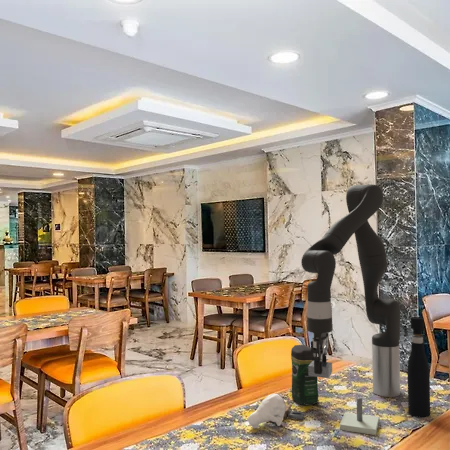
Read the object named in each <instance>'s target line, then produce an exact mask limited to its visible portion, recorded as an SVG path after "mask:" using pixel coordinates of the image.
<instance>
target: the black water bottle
mask: <svg viewBox="0 0 450 450" xmlns="http://www.w3.org/2000/svg"><path fill="white" fill-rule="evenodd" d="M410 328H411V329H412V331H413V332H412V337H411V343H410V346H411V351H410V354H409V357H408V361H407V367H406V370H407V411H408V414H409V415H410V416H412V417H416V418H422V419H423V418H429V417H430V416H431V388H430V387H431V386H430V385H431V384H430V382H431V381H430V380H431V379H430V366H429V361H428V359H427V355H426V353H425V343H424V337H423V333H422V332H423V330H425V319H424V317H419V316H412V317H410Z"/></svg>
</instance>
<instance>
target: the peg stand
mask: <svg viewBox="0 0 450 450" xmlns="http://www.w3.org/2000/svg"><path fill="white" fill-rule="evenodd" d="M379 424H380V416H376V415H370V414H363V398H362V397H356V413H354V412H348V411H345V412H344V414H343V416H342V419H341V421H340V423H339V430H342V431H347V432H353V433H358V434H359V433H360V434H366V435H373V436H376V435H377V431H378V429H379V428H378V427H379Z"/></svg>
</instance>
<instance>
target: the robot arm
mask: <svg viewBox="0 0 450 450" xmlns="http://www.w3.org/2000/svg"><path fill="white" fill-rule="evenodd" d="M345 201H346V206H347V209H348V210H347V211H348V214H346V215H344V216H342V217H341V218H340V219H338V220H336V221H335V222H334V223H333V224H332V225H331V226H330V227H329V228H328V229H327V231H326V232H325V233H324V235H323V236H322V238H320V239H319V240H317V241H316V242H314V243H313V244H312V245H311V246H309V248H307V249H306V250H305V251H304V253H303V255H302V257H301V268H302V269H303V270H304V271H305V272H307V273H311V274H317V275H316V280H312V281H309V282H308V283H307V287H306V289H307V290H306V291H307V292H306V293H307V294H306V295H307V296H306V297H307V304H306V324H307V325H306V326H307V327H306V328H307V331H308V332H310V333H312V334H313V337H312V338H311V340H310V348H311V357H312V358H311V359H312V361H314V373H315V374H321V373H322V362H328V361H327V356H328V352H329V337H330V334H329V333H331V332H332V331H333V308H332V300H331V299H332V298H331V296H332V294H331V288H332V284H333V279H334V276H335V275H334V274H335V270H336V265H337V264H336V262H337V261H336V257H335V255H337V254H339V253H341V251H342V250H343V248H344V247H345V246H346V244H347V243H348V241H349V240H350V238H351V237H352V236H353V235H354V237H355V243H356V248H357V256H358V260H359V266H360V272H361V276H362V283H363V291H364V301H365V313H366V317H367V319H368V320H367V321H368V322H370V323H371V324H374V325H378V326H379V325H381V326H385V331H383V332H379V333H375V334H373V335H372V336H371V351H372V352H371V355H372V357H371V358H372V360H371V362H372V393H374V394H375V395H377V396H380V397H385V398H386V397H387V398H390V397H391V398H394V397H395V398H396V397H399V396H400V395H401V367H400V365H401V363H400V362H401V360H400V359H401V358H400V338H401V320H402V319H401V318H402V317H401V316H402V315H401V314H402V312H401V305H400V303H399V302H398V300H396V299H388V298H380V297H379V292H378V291H379V284H380V281H381V279H382V278H383V276H384V274H385V273H386V270H387V266H388V258H387V253H386V247H385V244H384V242H383V241H382V239H381V238H380V236H379V235H378V234H377V232H375V230H374V229H373V228H372V226H371V224H370V223H369V219H370V218H371V217H373V215H374V214H376V213H377V211H378V210H380V208H381V207H382V205H383V202H384V193H383V189H382V188H381V187H380V186H379V185H377V184H357V185H351V186H349V187H348V188H347V190H346V194H345ZM316 354H317V357H316Z"/></svg>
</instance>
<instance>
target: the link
mask: <svg viewBox="0 0 450 450" xmlns="http://www.w3.org/2000/svg"><path fill="white" fill-rule="evenodd" d="M332 373H333V362H330V361H327V362H322V373H321V374H315V373H314V361H312V362H311V363H310V365H309V366H308V375H309V376H314V377H317V378H325V379H329V378H330V377H331V375H332Z"/></svg>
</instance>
